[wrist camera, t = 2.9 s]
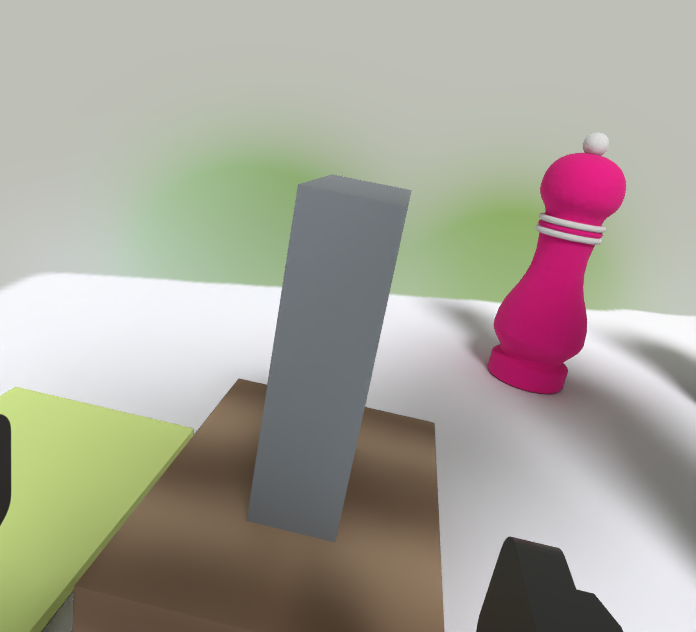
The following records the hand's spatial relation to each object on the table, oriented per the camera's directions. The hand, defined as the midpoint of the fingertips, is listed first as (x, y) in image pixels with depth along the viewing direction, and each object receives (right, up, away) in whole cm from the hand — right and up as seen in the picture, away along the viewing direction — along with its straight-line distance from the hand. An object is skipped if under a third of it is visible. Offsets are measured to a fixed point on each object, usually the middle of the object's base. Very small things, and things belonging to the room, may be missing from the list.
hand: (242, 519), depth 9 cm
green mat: (-12, -4, +14) cm, 19 cm away
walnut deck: (-1, -7, +13) cm, 15 cm away
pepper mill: (+17, -2, +38) cm, 42 cm away
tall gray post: (0, -3, +12) cm, 13 cm away
